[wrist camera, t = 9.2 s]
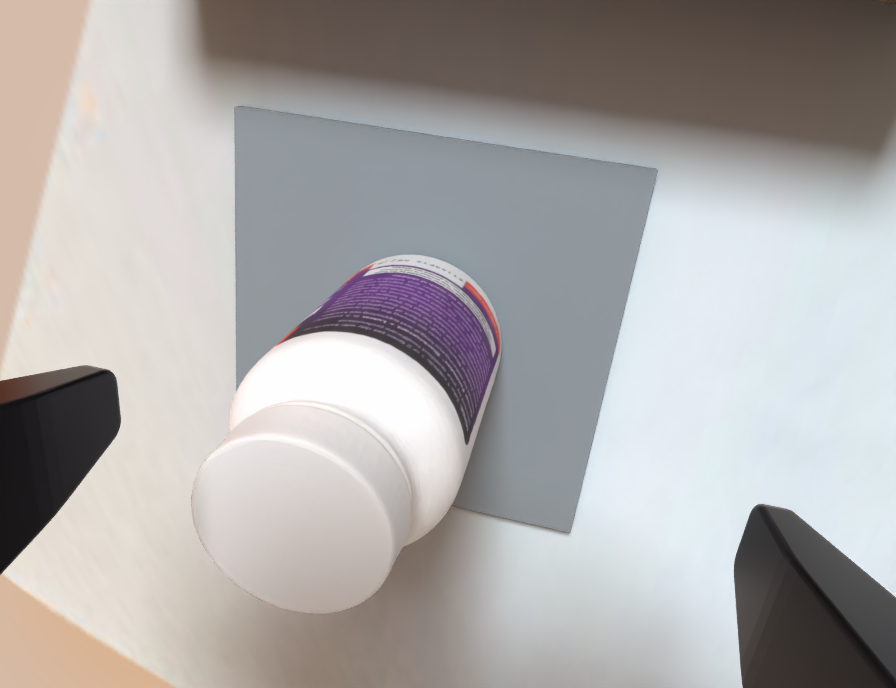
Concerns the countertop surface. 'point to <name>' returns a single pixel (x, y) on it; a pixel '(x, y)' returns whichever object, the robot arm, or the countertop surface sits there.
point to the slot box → (891, 0)
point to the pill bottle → (350, 436)
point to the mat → (464, 246)
